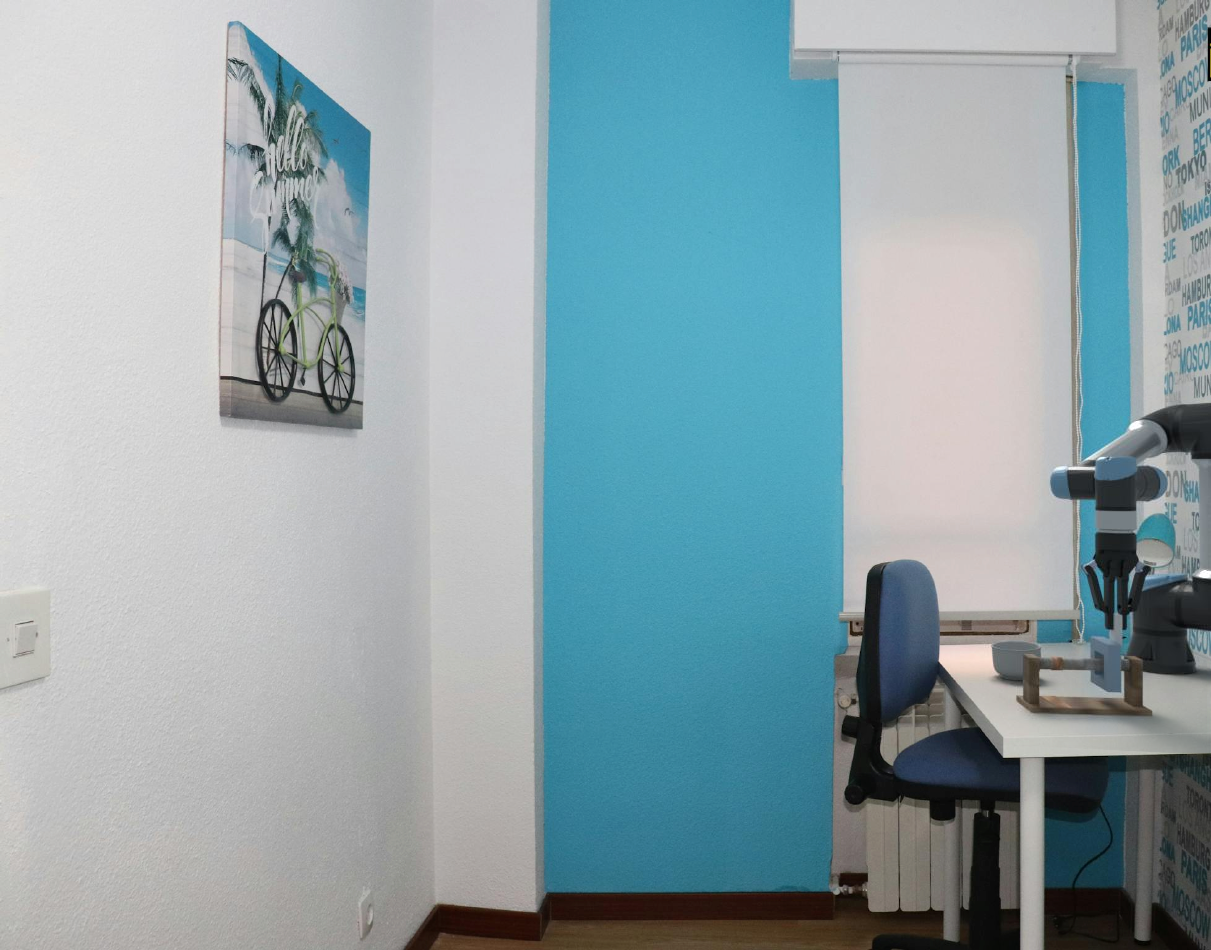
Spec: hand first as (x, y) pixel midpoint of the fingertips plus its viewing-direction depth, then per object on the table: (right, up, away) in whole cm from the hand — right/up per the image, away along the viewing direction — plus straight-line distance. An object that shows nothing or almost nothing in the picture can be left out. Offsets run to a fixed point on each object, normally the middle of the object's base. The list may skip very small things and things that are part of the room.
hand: (1115, 645), depth 191 cm
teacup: (-8, -13, +30) cm, 34 cm away
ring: (-2, -9, 0) cm, 9 cm away
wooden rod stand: (-6, -13, +1) cm, 15 cm away
